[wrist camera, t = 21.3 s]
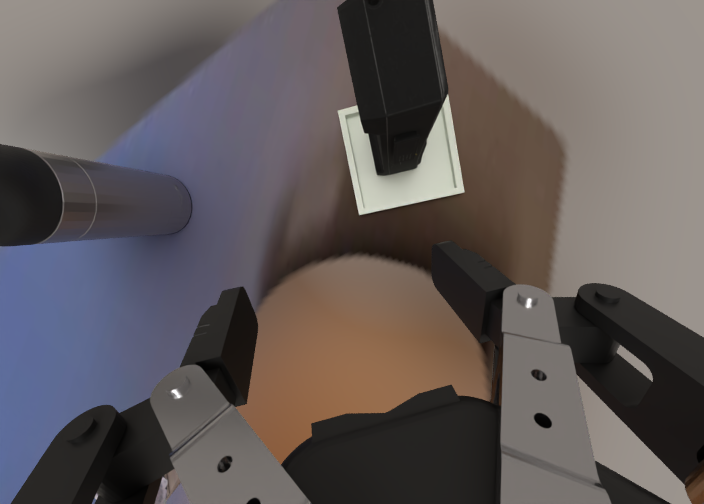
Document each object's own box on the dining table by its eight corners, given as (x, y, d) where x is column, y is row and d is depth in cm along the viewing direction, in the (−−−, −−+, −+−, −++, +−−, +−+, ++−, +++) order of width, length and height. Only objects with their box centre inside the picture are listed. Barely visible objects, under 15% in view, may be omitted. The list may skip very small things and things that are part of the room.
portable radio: (422, 175, 37) (488, 92, 13) (379, 185, 38) (360, 128, 14) (411, 115, 36) (457, -95, 12) (367, 127, 37) (324, -44, 13)
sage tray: (360, 215, 40) (359, 214, 38) (340, 115, 38) (337, 110, 36) (460, 193, 37) (464, 192, 36) (443, 87, 36) (445, 80, 34)
